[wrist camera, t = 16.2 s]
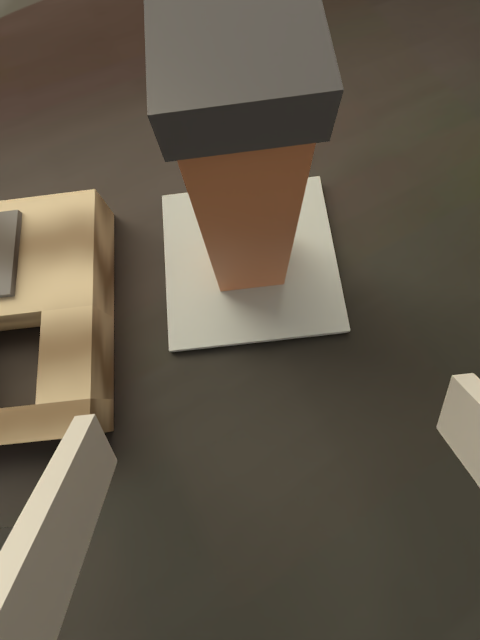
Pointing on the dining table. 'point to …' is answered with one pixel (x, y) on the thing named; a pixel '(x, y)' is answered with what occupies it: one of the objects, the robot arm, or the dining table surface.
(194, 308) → the mat
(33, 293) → the socket block
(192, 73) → the plug
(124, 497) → the dining table surface
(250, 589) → the dining table surface
